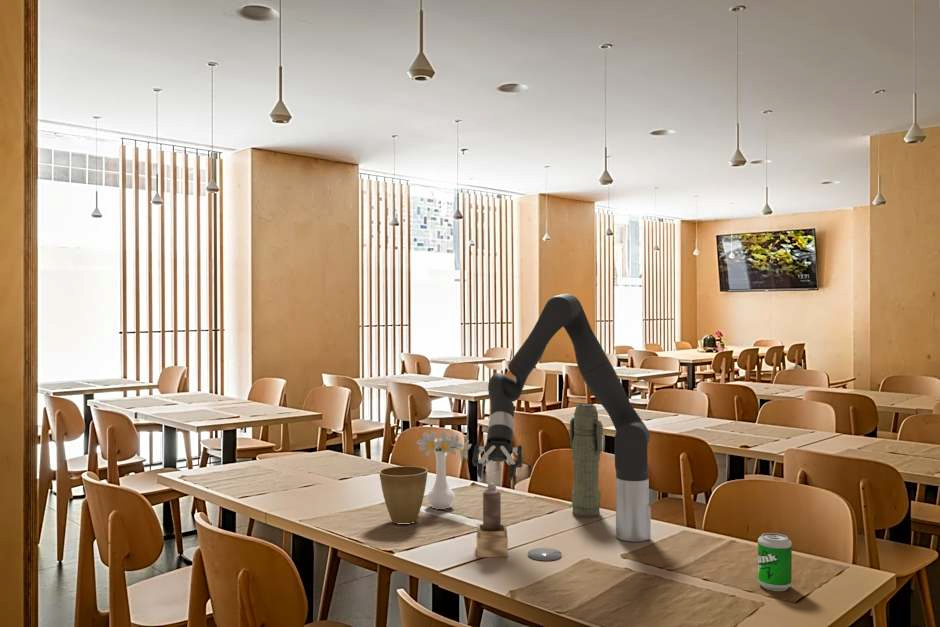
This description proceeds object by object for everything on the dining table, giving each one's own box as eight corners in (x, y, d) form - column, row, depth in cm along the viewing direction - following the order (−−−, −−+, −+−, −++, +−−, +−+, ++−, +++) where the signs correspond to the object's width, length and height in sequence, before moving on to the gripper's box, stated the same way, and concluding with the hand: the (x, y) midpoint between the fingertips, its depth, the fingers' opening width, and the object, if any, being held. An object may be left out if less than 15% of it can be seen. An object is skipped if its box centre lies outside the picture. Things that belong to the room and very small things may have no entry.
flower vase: (466, 513, 253) (466, 436, 252) (411, 510, 256) (410, 434, 256) (474, 503, 265) (474, 429, 265) (421, 501, 269) (421, 428, 269)
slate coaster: (559, 550, 215) (559, 547, 215) (563, 560, 206) (563, 558, 206) (526, 550, 215) (526, 548, 215) (529, 561, 206) (529, 558, 206)
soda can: (783, 580, 191) (783, 531, 191) (797, 592, 184) (797, 541, 183) (752, 581, 191) (752, 532, 191) (765, 592, 183) (765, 541, 183)
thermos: (595, 519, 246) (595, 407, 245) (563, 513, 253) (563, 404, 252) (609, 513, 253) (609, 404, 252) (577, 507, 260) (577, 401, 259)
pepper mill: (500, 530, 217) (500, 480, 216) (501, 535, 212) (501, 484, 212) (482, 530, 216) (482, 480, 216) (483, 536, 212) (483, 484, 211)
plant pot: (431, 515, 250) (430, 465, 250) (423, 529, 236) (423, 476, 235) (384, 514, 252) (384, 464, 252) (374, 528, 237) (374, 475, 237)
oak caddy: (505, 546, 219) (505, 523, 219) (507, 556, 210) (507, 532, 210) (476, 546, 219) (476, 523, 219) (477, 557, 210) (477, 532, 210)
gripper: (475, 422, 232) (469, 469, 221) (523, 423, 230) (519, 471, 218) (478, 437, 237) (472, 484, 226) (525, 438, 235) (521, 486, 224)
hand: (495, 477), depth 222 cm, fingers open, 8 cm apart
